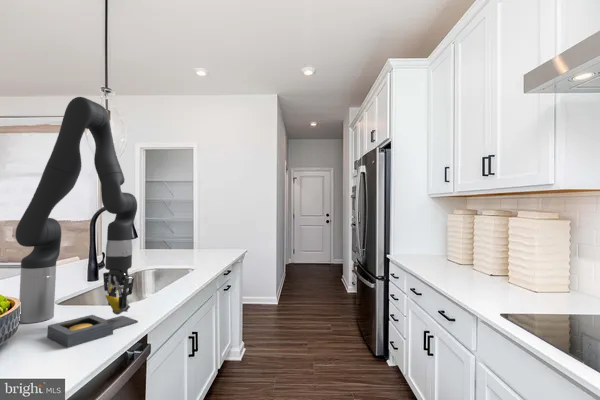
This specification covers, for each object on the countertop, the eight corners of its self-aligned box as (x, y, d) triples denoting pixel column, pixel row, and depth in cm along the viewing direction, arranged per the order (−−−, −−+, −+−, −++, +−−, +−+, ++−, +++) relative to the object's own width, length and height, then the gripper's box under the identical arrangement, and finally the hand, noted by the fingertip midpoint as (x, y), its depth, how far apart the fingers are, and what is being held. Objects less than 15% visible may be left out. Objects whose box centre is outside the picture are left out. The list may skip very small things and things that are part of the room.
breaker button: (65, 336, 96) (65, 327, 96) (86, 330, 100) (86, 322, 100) (74, 340, 93) (75, 331, 93) (95, 334, 97) (96, 326, 97)
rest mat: (94, 324, 106) (94, 322, 106) (122, 317, 113) (122, 315, 113) (109, 330, 101) (110, 328, 101) (137, 322, 109) (137, 320, 109)
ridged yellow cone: (132, 315, 108) (109, 299, 102) (118, 321, 108) (95, 305, 103) (136, 301, 112) (114, 285, 106) (123, 307, 113) (101, 291, 107)
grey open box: (47, 337, 94) (47, 325, 95) (91, 325, 105) (92, 314, 105) (67, 348, 88) (67, 334, 88) (112, 334, 98) (113, 322, 98)
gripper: (95, 253, 108) (93, 305, 108) (120, 257, 101) (118, 313, 100) (118, 250, 115) (116, 300, 114) (143, 254, 107) (141, 307, 107)
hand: (117, 306), depth 107 cm, fingers closed on ridged yellow cone, 5 cm apart
